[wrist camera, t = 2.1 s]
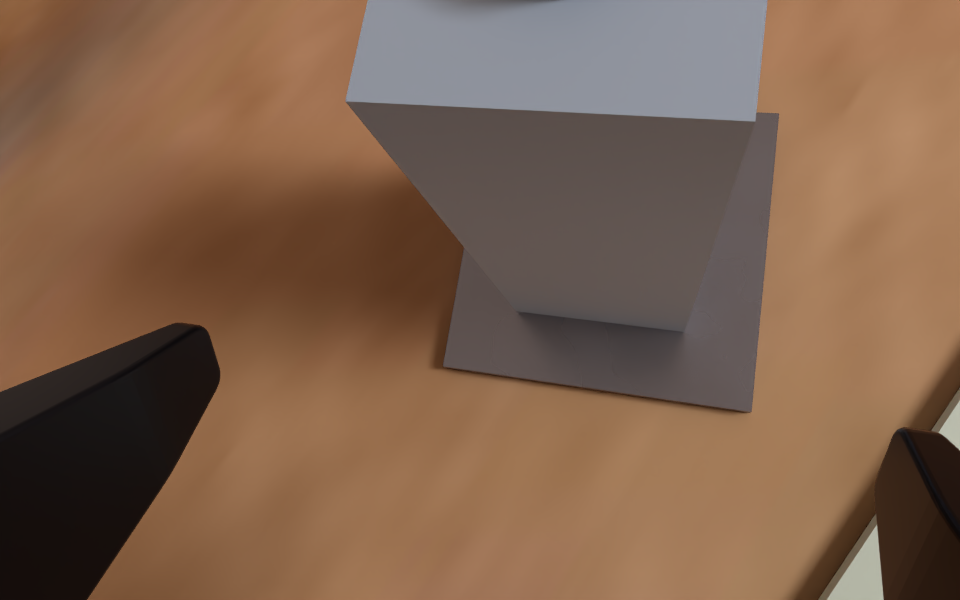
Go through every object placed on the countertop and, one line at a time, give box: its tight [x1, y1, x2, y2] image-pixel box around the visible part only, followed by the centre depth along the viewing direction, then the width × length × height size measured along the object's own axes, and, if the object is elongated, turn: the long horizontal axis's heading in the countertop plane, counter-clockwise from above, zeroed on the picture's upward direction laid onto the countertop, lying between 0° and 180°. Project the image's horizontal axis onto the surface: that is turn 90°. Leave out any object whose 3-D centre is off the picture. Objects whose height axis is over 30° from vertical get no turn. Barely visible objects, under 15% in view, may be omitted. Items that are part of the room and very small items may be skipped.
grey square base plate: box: [443, 113, 779, 413], centre depth 20 cm, size 9×9×3 cm
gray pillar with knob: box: [346, 0, 767, 332], centre depth 15 cm, size 5×5×14 cm
